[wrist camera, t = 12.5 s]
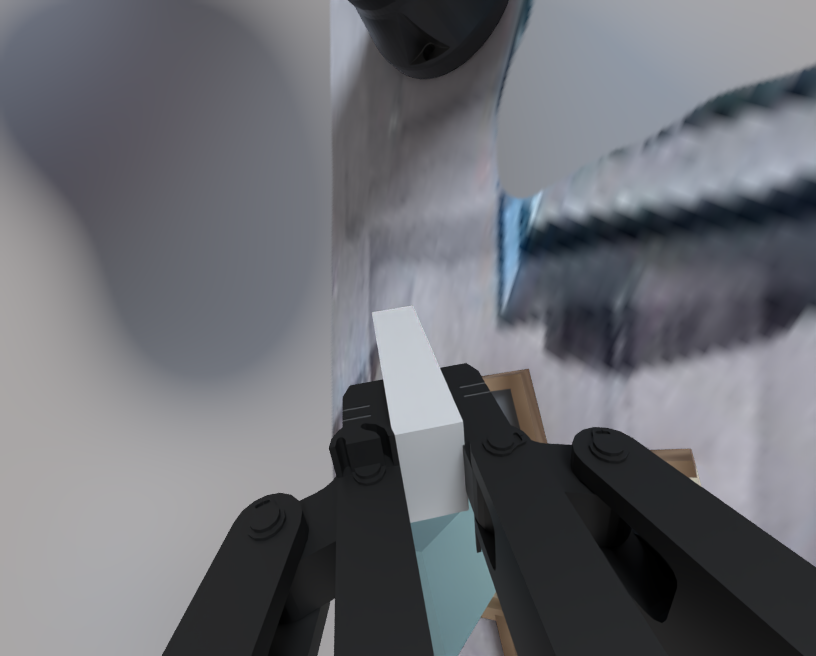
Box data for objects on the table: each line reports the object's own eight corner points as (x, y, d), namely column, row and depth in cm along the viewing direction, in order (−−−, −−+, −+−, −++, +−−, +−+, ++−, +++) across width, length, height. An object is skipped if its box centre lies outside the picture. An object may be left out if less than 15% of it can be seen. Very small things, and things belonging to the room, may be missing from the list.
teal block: (480, 490, 39) (421, 551, 30) (502, 580, 38) (449, 669, 29) (410, 488, 44) (342, 540, 35) (429, 567, 44) (364, 640, 35)
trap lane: (663, 346, 30) (662, 354, 27) (777, 765, 28) (790, 828, 25) (381, 392, 47) (359, 400, 43) (441, 656, 45) (423, 685, 42)
